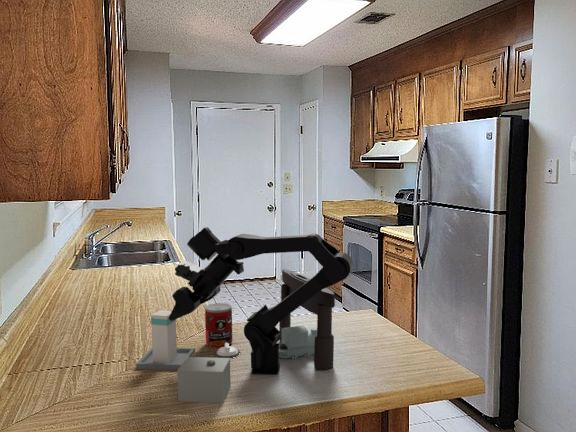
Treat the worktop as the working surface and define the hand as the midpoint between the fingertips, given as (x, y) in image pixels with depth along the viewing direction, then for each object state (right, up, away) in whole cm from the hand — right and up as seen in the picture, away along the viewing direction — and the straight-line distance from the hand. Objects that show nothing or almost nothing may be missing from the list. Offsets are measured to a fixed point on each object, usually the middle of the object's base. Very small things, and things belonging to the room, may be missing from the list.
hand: (177, 314), depth 134 cm
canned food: (+9, -12, +15) cm, 21 cm away
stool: (+33, -12, +7) cm, 36 cm away
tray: (-3, -13, +2) cm, 13 cm away
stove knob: (+12, -13, +7) cm, 19 cm away
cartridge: (-4, -12, +1) cm, 13 cm away
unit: (+10, -14, -18) cm, 25 cm away
